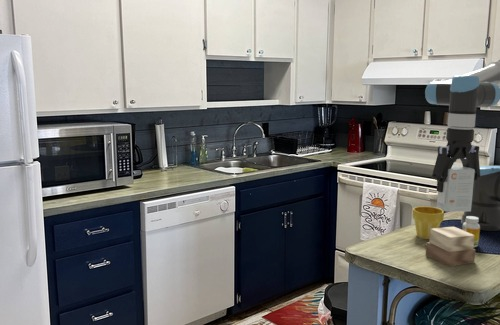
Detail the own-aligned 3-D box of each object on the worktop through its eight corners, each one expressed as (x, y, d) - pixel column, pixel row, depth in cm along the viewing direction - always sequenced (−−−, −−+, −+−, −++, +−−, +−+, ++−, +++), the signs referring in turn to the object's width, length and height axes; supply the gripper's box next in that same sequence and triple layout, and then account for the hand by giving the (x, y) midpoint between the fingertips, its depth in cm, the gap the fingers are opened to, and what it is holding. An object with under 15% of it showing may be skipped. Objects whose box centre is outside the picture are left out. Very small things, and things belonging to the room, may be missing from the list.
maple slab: (452, 239, 158) (454, 226, 157) (473, 249, 150) (474, 235, 149) (429, 242, 155) (430, 228, 154) (448, 252, 147) (449, 237, 146)
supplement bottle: (457, 243, 167) (459, 216, 166) (468, 241, 169) (471, 214, 168) (470, 248, 162) (472, 220, 161) (481, 246, 164) (484, 218, 163)
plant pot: (405, 235, 175) (407, 209, 173) (420, 230, 181) (422, 204, 180) (432, 243, 167) (434, 215, 165) (447, 237, 174) (449, 210, 172)
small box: (460, 206, 154) (464, 165, 151) (471, 211, 147) (475, 169, 145) (435, 206, 153) (439, 165, 150) (445, 212, 146) (449, 169, 144)
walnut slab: (450, 252, 159) (451, 239, 159) (474, 263, 150) (475, 249, 149) (425, 255, 156) (426, 242, 155) (448, 267, 147) (449, 253, 146)
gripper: (479, 125, 153) (472, 195, 157) (422, 127, 145) (416, 200, 149) (498, 128, 146) (491, 201, 150) (440, 129, 139) (433, 206, 142)
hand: (454, 201), depth 150 cm, fingers closed on small box, 9 cm apart
